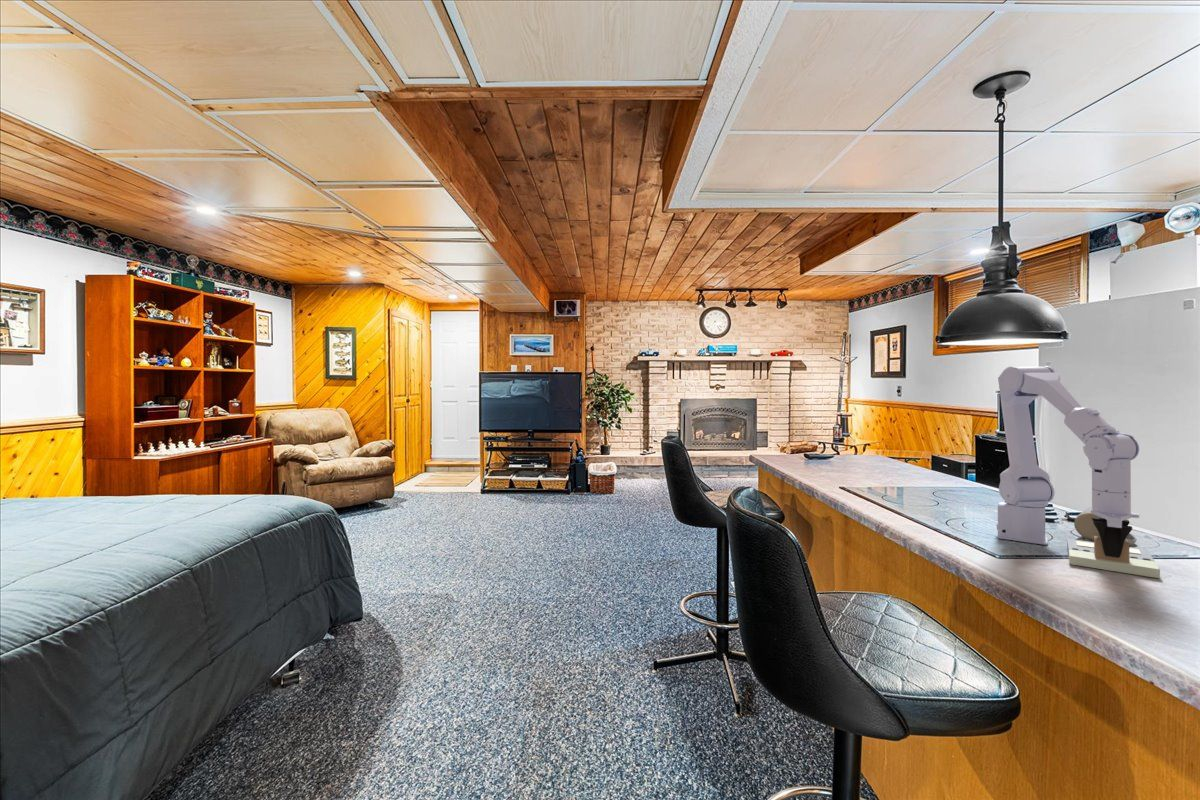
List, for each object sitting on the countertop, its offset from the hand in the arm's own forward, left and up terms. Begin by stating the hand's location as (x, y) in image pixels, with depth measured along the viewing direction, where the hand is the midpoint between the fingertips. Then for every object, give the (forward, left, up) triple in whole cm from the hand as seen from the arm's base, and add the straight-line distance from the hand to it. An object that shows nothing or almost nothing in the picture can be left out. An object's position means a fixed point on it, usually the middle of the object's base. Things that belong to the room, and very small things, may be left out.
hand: (1111, 554), depth 104 cm
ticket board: (0, +8, -3) cm, 9 cm away
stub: (0, 0, -3) cm, 3 cm away
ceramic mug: (+1, +27, -3) cm, 27 cm away
